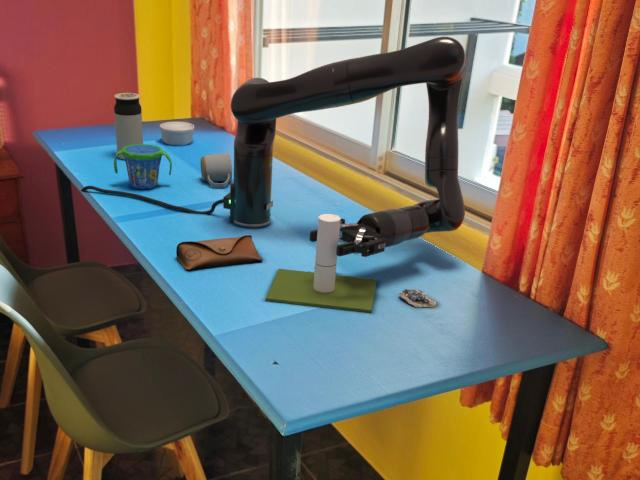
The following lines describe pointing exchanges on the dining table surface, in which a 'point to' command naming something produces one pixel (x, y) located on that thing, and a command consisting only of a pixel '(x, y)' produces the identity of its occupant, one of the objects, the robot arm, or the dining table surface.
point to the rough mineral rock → (417, 298)
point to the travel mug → (128, 121)
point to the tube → (326, 252)
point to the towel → (300, 291)
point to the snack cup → (142, 164)
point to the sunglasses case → (217, 252)
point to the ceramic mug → (216, 169)
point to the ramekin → (177, 133)
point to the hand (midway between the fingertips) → (323, 243)
